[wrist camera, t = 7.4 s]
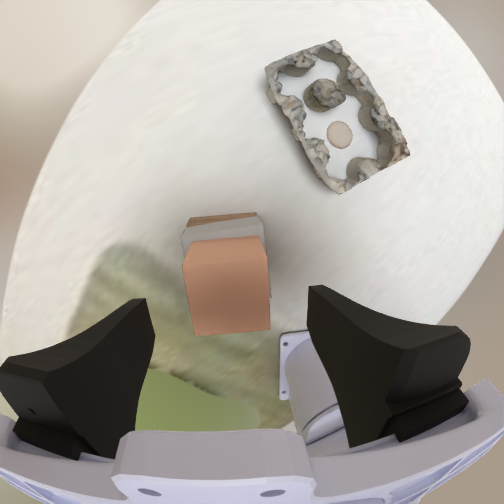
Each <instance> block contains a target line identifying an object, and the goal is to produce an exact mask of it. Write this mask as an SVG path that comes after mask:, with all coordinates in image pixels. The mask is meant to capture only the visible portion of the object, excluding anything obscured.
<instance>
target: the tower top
mask: <svg viewBox="0 0 504 504" xmlns="http://www.w3.org/2000/svg"><path fill="white" fill-rule="evenodd" d="M246 236H259V238H260V241H261V243H262V246H263V249H264V251H265V254H266V256H267V253H266V245H265V236H264V228H263V223H262V221H261V220H260V218H259V216H254V217H247V218H240V219H234V220H227V221H220V222H214V223H208V224H202V225H196V226H190V227H186V229H185V230H184V232H183V234H182V235H181V241H182V246H183V251H184V255H185V258H186V255H187V253H188V250H189V248H190V245H191V243H192V241H201V240H212V239H223V238H234V237H246ZM268 280H269V298H272V297H271V288H270V279H269V270H268Z"/></svg>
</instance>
